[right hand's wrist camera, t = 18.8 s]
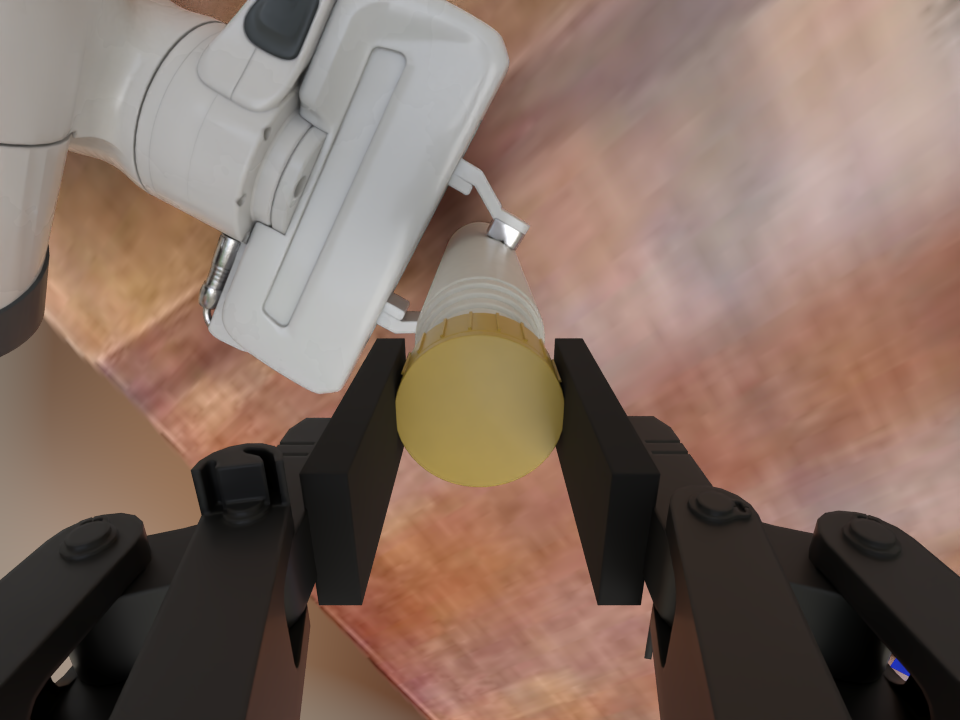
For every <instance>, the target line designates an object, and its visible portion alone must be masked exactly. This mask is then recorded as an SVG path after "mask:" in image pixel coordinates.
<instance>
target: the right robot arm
mask: <svg viewBox="0 0 960 720" xmlns="http://www.w3.org/2000/svg"><path fill="white" fill-rule="evenodd" d="M405 362H406V355H405V338H377V340H376V342H375V343H374V345H373V347H372V348H371V350H370V352H369V354H368V355H367V357H366V359H365V361H364V362H363V364H362V366H361V368H360V369H359V371H358V373H357V374H356V376H355V378H354V380H353V381H352V383H351V385H350V387H349V388H348V390H347V392H346V393H345V395H344V397H343V399H342V400H341V402H340V404H339V406H338V407H337V409H336V411H335V413H334V414H333V416H332V418H306V419H304V420H303V421H301V422H300V423H298V424H296V425H295V426H293V427H292V428H290V429H289V430H288V432H287V433H286V435H285V436H284V437H283V439H282V440H281V442H280V445H278V446H277V447H275V446H271V445H267V444H263V443H247V444H241V445H236V446H231V447H227V448H225V449H222V450H219V451H216V452H214V453H212V454H210V455H208V456H207V457H205V458H203V459H202V460H200V461H199V462H198V463H197V464H196V465H195V466H194V467H193V469H192V470H191V473H192V477H193V482H194V486H195V490H196V494H197V498H198V502H199V506H200V510H201V515H202V516H201V518H200V520H199V522H198V525H194V526H190V527H187V528H183V529H178V530H173V531H168V532H163V533H158V534H154V535H148V536H147V535H146V532H145V528H144V525H143V522H142V521H141V520H140V519H139V518H138V517H137V516H135V515H130V514H125V513H116V514H106V515H100V516H95V517H94V518H88V519H85V520H82V521H80V522H79V523H77V524H74V525H72V526H70V527H68V528H66V529H64V530H62V531H61V532H59V533H58V534H56V535H55V536H53V537H52V538H50V539H49V540H47V541H46V542H45V543H44V544H42V545H41V546H40V547H39V548H38V549H36V550H35V551H34V552H33V553H32V554H31V555H29V556H28V557H27V558H26V559H25V560H23V561H22V562H21V563H20V564H19V565H18V566H16V567H15V568H14V569H13V570H12V571H10V572H9V573H8V574H7V575H6V576H5V577H3V578H2V579H1V580H0V720H300V712H301V703H302V694H303V686H304V677H305V668H306V659H307V650H308V641H309V633H310V620H309V614H308V607H307V602H308V600H309V597H310V595H311V592H312V589H313V587H314V584H315V582H316V589H317V595H318V602H319V605H362V603H363V599H364V595H365V591H366V588H367V584H368V580H369V576H370V573H371V569H372V565H373V561H374V558H375V554H376V550H377V546H378V542H379V539H380V535H381V531H382V527H383V524H384V520H385V516H386V512H387V509H388V505H389V501H390V497H391V493H392V490H393V486H394V482H395V478H396V475H397V471H398V467H399V463H400V460H401V456H402V452H403V448H404V445H403V443H402V441H401V439H400V436H399V434H398V431H397V418H396V403H395V399H396V394H397V390H398V387H399V385H400V382H401V379H402V376H403V375H402V374H401V372H402V370H403V367H404V364H405ZM554 362H555V365H556V367H557V370H558V373H559V375H560V378H561V381H562V382H560V385H561V388H562V392H563V396H564V414H563V428H562V433H561V435H560V438H559V440H558V442H557V444H556V449H557V453H558V457H559V461H560V464H561V468H562V472H563V476H564V480H565V483H566V487H567V491H568V495H569V498H570V502H571V506H572V510H573V513H574V517H575V521H576V525H577V529H578V532H579V536H580V540H581V544H582V547H583V551H584V555H585V559H586V563H587V566H588V570H589V574H590V578H591V581H592V585H593V589H594V593H595V596H596V600H597V604H598V605H641V600H642V593H643V587H644V580H645V583H646V585H647V588H648V590H649V593H650V595H651V598H652V600H653V607H652V613H651V620H650V626H649V632H648V638H647V644H646V651H645V658H646V659H651V658H652V652H653V658H654V667H655V675H656V684H657V693H658V702H659V711H660V720H960V577H959V576H958V575H957V574H956V573H955V572H953V571H952V570H951V569H950V568H949V567H947V566H946V565H945V564H944V563H943V562H941V561H940V560H939V559H938V558H937V557H935V556H934V555H933V554H932V553H931V552H929V551H928V550H927V549H926V548H925V547H924V546H922V545H921V544H920V543H919V542H918V541H916V540H915V539H914V538H912V537H911V536H909V535H908V534H907V533H905V532H904V531H902V530H901V529H899V528H898V527H896V526H893V525H891V524H889V523H887V522H885V521H882V520H881V519H879V518H877V517H873V516H870V515H866V514H862V513H858V512H848V511H834V512H828V513H825V514H823V515H822V516H821V517H820V518H819V519H818V520H817V523H816V527H815V530H814V533H808V532H803V531H798V530H793V529H788V528H783V527H779V526H774V525H770V524H767V523H763V522H761V519H760V517H759V515H758V514H757V512H756V511H755V510H754V508H753V507H752V506H751V504H749V503H748V502H746V501H745V500H743V499H742V498H741V497H739V496H738V495H736V494H733V493H731V492H728V491H726V490H724V489H721V488H716V487H713V486H712V485H711V483H710V482H709V480H708V479H707V478H706V476H705V475H704V473H703V472H702V471H701V469H700V468H699V466H698V465H697V464H696V462H695V461H694V459H693V458H692V457H691V455H690V454H688V451H687V450H686V448H685V447H684V445H683V444H682V443H680V440H679V438H678V437H677V436H676V434H675V433H674V432H673V430H672V429H671V427H669V426H668V425H666V424H664V423H663V422H661V421H660V420H658V419H657V418H655V417H654V416H627V415H626V413H625V411H624V410H623V408H622V406H621V404H620V403H619V401H618V399H617V398H616V396H615V394H614V392H613V391H612V389H611V387H610V385H609V384H608V382H607V380H606V378H605V377H604V375H603V373H602V372H601V370H600V368H599V366H598V365H597V363H596V361H595V359H594V358H593V356H592V354H591V352H590V351H589V349H588V347H587V346H586V344H585V342H584V340H583V339H582V338H555V349H554ZM891 654H893V655H894V656H895V657H896V658H897V660H898V661H899V662H900V663H901V664H902V665H903V667H904V668H905V669H906V670H907V671H908V672H909V673H910V675H909V678H908V680H907V681H904V680H903V679H902V678H901V677H900V676H899V675H898V674H896V672H895V671H894V670H893V669H892V668H891V667H890V665H889V664H888V661H889V658H890V656H891ZM68 656H69V657H70V660H71V662H72V664H73V666H72V667H71V668H70V669H69V670H68V672H67V673H66V674H65V675H64V676H63V677H62V678H61V679H59V680H58V681H57V682H56V683H54V682H53V681H52V679H51V676H52V675H53V673H54V672H55V671H56V670H57V669H58V668H59V666H60V665H61V664H62V663H63V662H64V661H65V660H66V658H67V657H68Z"/></svg>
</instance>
